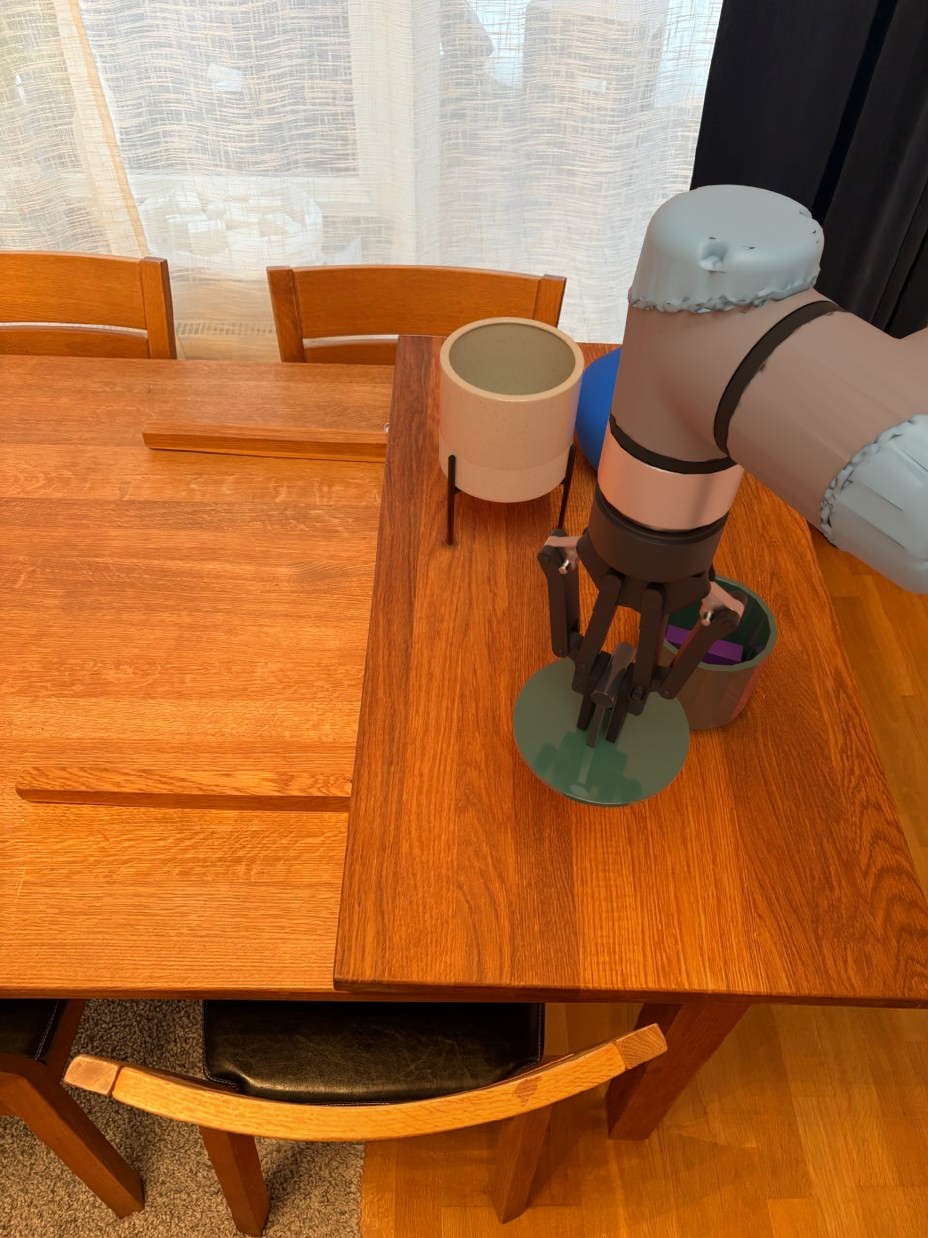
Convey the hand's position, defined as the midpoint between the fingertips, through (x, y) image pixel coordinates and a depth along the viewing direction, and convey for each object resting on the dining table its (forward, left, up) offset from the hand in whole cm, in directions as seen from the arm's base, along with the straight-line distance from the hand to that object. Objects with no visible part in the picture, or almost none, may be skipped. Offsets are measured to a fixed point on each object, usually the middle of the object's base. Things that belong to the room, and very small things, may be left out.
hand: (601, 721), depth 66 cm
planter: (+24, -36, -20) cm, 48 cm away
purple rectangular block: (-5, -23, -17) cm, 29 cm away
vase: (+12, -53, -20) cm, 58 cm away
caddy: (-5, -22, -19) cm, 30 cm away
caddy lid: (0, 0, -1) cm, 1 cm away
